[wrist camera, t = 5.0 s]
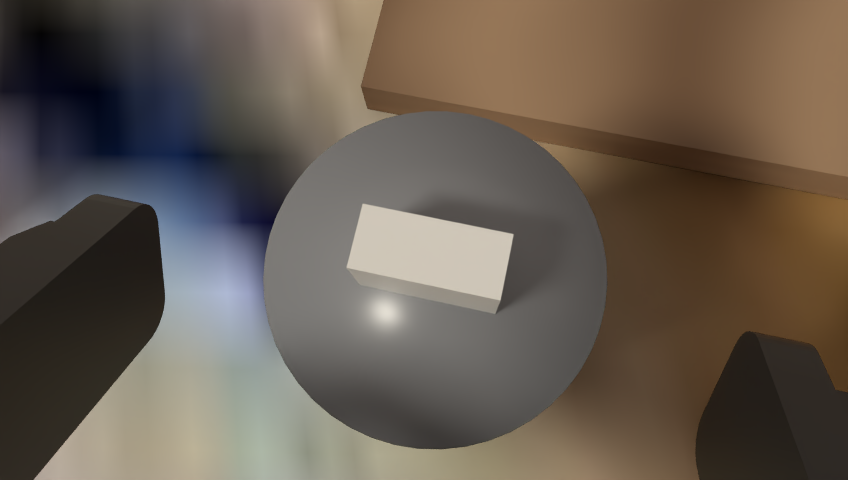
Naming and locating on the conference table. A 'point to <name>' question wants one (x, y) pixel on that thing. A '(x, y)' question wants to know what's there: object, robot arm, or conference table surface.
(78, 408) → the robot arm
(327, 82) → the conference table surface
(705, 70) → the walnut board
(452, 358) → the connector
